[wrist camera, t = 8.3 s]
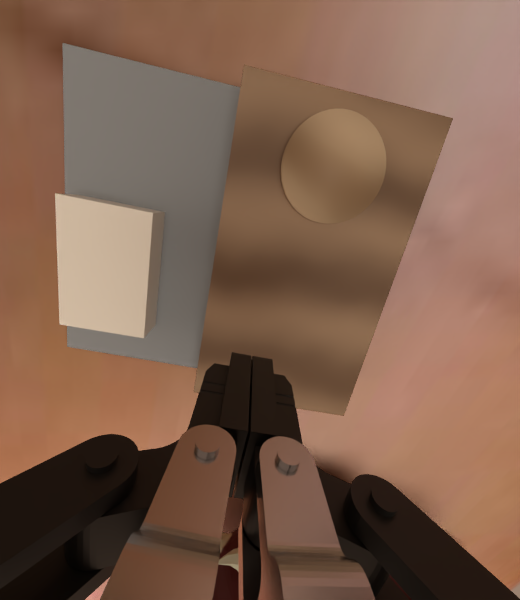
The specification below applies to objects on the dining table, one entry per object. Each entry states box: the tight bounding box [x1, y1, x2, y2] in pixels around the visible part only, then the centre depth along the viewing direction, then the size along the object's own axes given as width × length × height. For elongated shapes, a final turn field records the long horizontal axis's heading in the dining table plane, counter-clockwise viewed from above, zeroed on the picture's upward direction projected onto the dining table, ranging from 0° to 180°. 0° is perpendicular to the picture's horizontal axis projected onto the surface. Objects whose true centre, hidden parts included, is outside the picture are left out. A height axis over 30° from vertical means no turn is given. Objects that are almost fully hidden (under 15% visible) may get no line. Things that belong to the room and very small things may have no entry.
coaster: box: [281, 109, 386, 224], centre depth 16 cm, size 6×6×1 cm
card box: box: [55, 193, 165, 338], centre depth 20 cm, size 9×6×2 cm, turn 169°
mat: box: [63, 43, 240, 368], centre depth 21 cm, size 21×11×1 cm, turn 168°
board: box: [194, 65, 453, 416], centre depth 20 cm, size 21×12×4 cm, turn 168°
